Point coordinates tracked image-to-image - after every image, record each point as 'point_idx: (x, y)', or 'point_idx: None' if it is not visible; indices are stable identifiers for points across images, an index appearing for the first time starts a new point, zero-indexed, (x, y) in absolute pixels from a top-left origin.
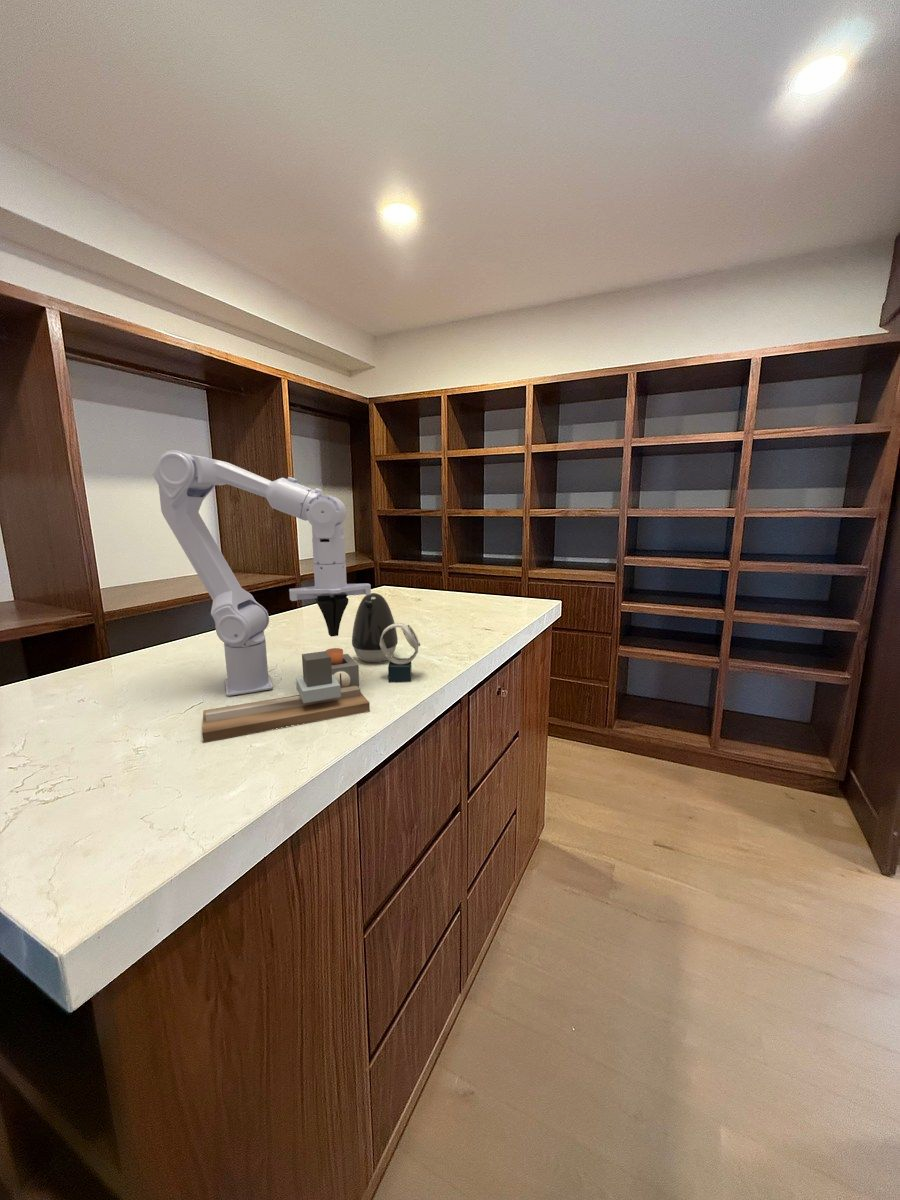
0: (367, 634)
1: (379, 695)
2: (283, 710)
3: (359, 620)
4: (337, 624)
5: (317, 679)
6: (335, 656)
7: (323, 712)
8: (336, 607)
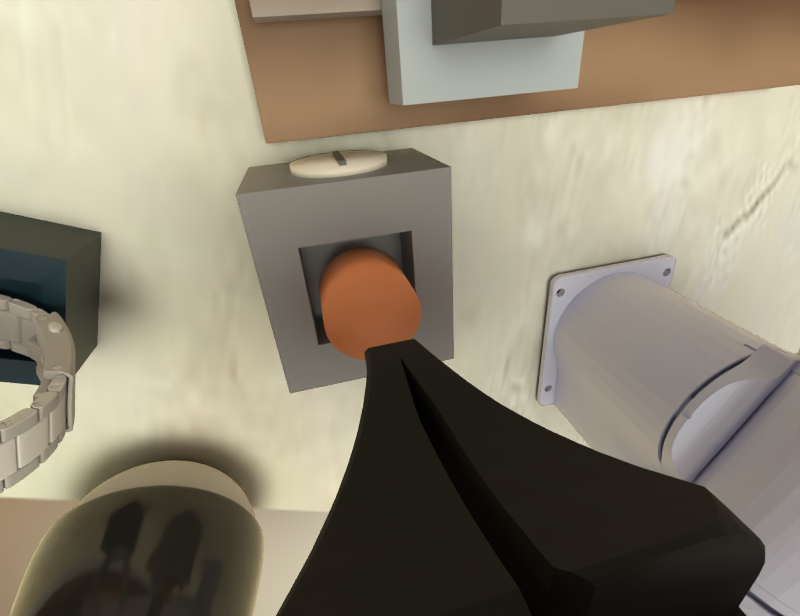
0: (174, 561)
1: (144, 63)
2: None
3: None
4: (388, 391)
5: None
6: (369, 264)
7: None
8: (461, 520)
